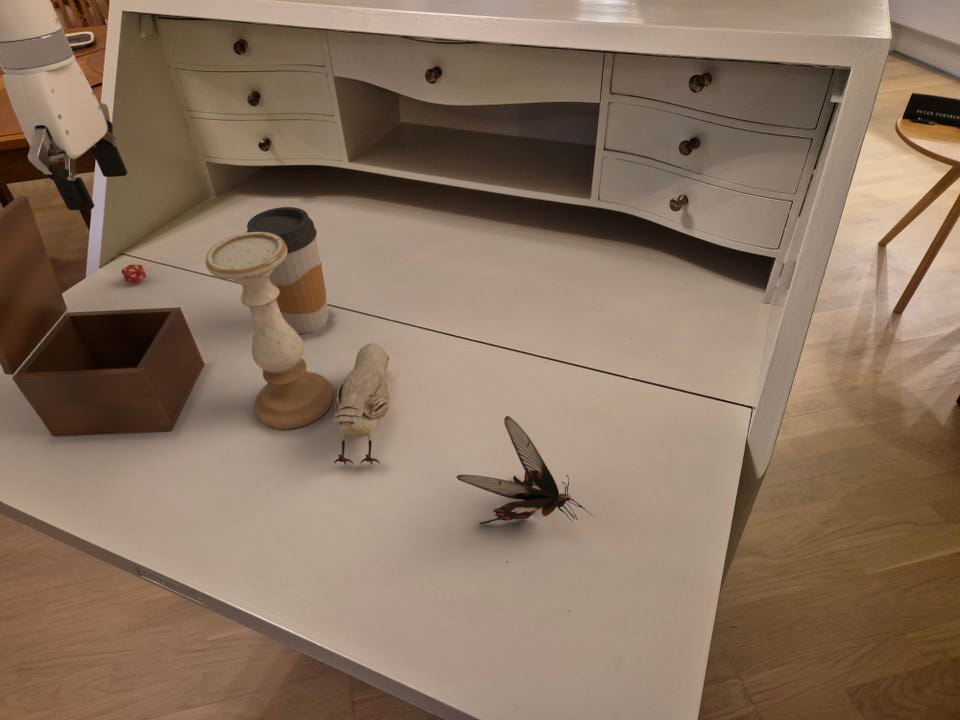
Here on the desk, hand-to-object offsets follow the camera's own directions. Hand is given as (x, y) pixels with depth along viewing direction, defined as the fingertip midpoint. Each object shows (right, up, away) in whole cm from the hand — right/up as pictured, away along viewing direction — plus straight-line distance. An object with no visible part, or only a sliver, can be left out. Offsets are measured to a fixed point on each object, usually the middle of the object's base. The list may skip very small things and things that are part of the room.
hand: (99, 191), depth 83 cm
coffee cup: (+26, -17, +3) cm, 31 cm away
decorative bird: (+38, -29, -12) cm, 49 cm away
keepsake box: (+9, -27, -8) cm, 29 cm away
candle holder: (+29, -27, -9) cm, 41 cm away
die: (-2, -11, +13) cm, 17 cm away
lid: (+2, -15, -18) cm, 23 cm away
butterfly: (+54, -38, -24) cm, 70 cm away
